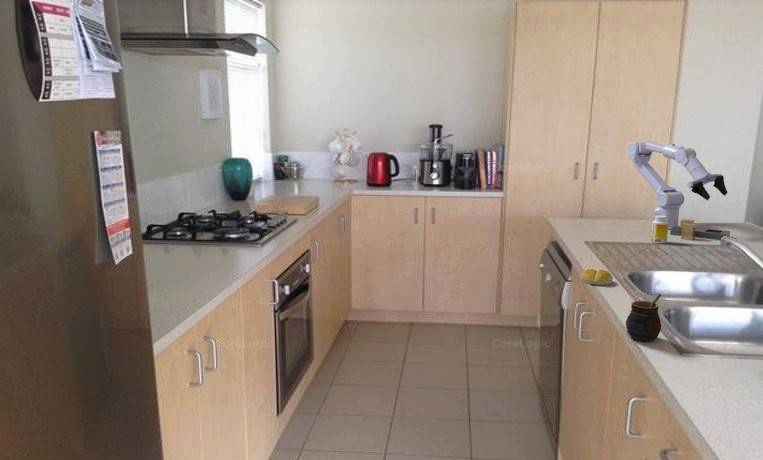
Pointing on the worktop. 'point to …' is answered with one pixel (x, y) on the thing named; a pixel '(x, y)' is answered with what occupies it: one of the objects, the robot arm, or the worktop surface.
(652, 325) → the mate gourd
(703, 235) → the rail
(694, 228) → the tan wooden block
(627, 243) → the worktop surface
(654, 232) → the supplement bottle
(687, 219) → the beige wooden block
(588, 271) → the bread roll
